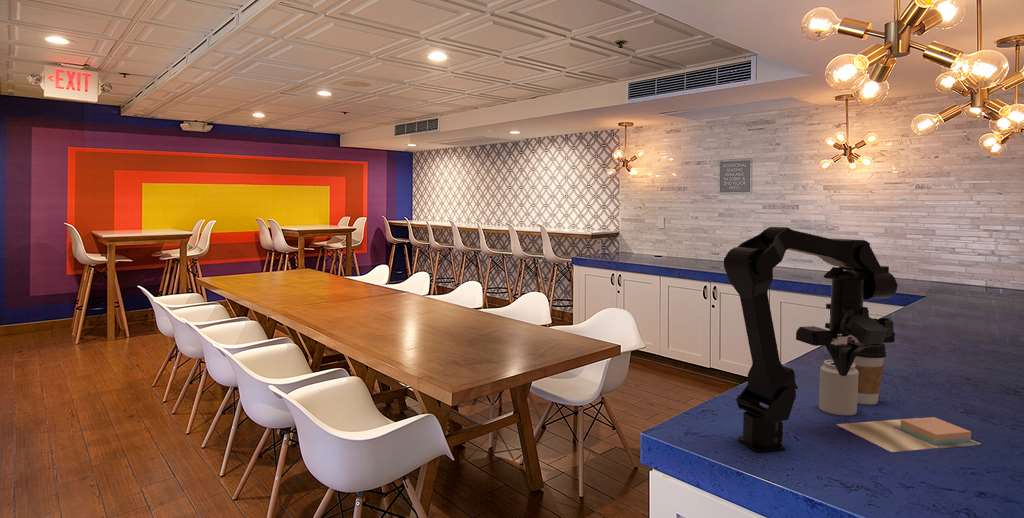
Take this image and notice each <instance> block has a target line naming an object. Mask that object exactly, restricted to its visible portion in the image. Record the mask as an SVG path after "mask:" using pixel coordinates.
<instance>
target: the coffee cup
mask: <svg viewBox="0 0 1024 518" xmlns="http://www.w3.org/2000/svg"><path fill="white" fill-rule="evenodd" d="M886 357H887V352H886V344H885V343H882V344H877V343H876V344H870V346H869V347H866V348H864V349H862V350H861V351H859V353H858V354H857V356H856V357H855V359H854V361H853V363H854V364H855V365H856V366H855V368H856V369H857V370H858V372H859V374H858V393H857V404H861V405H877V404H878V402H879V396H880V389H881V384H882V379H883V371H884V366H885V365H884V361H885V358H886Z"/></svg>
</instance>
